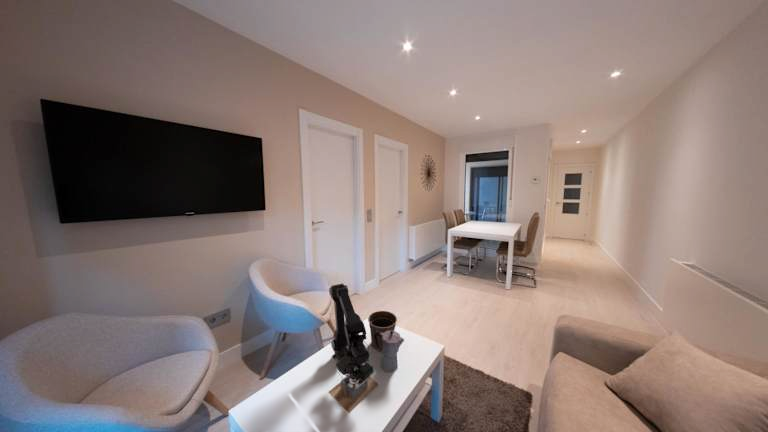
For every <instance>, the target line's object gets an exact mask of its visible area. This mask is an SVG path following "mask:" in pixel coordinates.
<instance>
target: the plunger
mask: <svg viewBox="0 0 768 432" xmlns="http://www.w3.org/2000/svg"><path fill="white" fill-rule="evenodd" d="M355 370H356V369H354V370H353V371H351V373H350V379H349V383H348V384H347V385H348V386H349V387H351V388H352V389H353V390H354V389H356V388H357V387H358V386H359V385H360V384H361V382H359V380H358V381H357V382H356V379H355V374H354V373H353V372H354V371H355Z"/></svg>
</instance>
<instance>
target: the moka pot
mask: <svg viewBox="0 0 768 432" xmlns="http://www.w3.org/2000/svg"><path fill="white" fill-rule="evenodd" d="M377 335H378V336H380V337H382V343H383V352H382V354H381V359H380V369H381V370H382V371H383V372H386V373H389V374H391V373H393V372H395V371H397V370H398V365H399V364H398V352H399V349H400V347H401V345H402V344H403V342H405V339H404V337H401V334H400V333H399V332H397V331H396V330H394V331H386V332H384V333H382V332H381V333H380V332H377V333H376V334H375V335H374V338H375V342H376V345H377V348H378V349H382V348H381V347H379V345H378V341H377V337H376V336H377Z"/></svg>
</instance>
